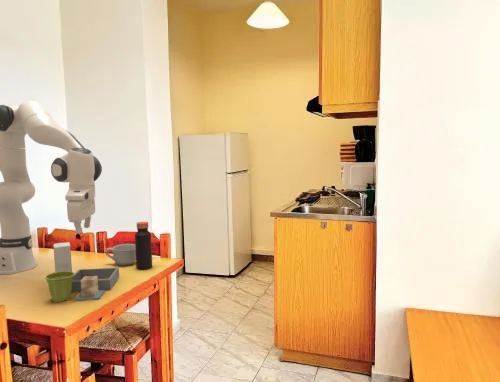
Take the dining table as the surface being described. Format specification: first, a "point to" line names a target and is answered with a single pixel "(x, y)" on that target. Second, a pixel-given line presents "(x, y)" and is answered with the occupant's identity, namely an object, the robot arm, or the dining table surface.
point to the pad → (90, 297)
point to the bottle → (143, 246)
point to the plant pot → (60, 285)
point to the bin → (101, 273)
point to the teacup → (123, 254)
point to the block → (89, 286)
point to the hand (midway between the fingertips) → (83, 230)
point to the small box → (62, 257)
